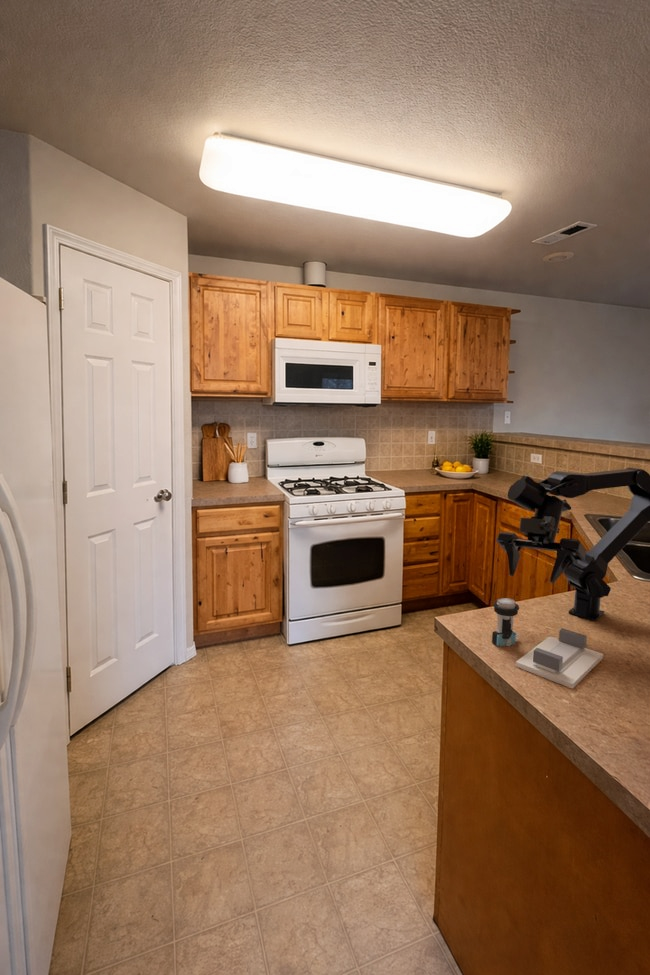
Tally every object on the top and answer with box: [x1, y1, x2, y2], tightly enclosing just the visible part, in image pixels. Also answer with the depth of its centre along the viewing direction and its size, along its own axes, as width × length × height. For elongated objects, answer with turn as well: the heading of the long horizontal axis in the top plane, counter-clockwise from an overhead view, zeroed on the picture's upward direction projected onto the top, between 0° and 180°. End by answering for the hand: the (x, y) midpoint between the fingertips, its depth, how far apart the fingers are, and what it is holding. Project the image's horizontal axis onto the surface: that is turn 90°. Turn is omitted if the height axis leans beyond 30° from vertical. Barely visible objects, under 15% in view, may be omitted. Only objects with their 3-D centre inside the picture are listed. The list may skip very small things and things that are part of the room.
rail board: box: [515, 628, 604, 690], centre depth 98 cm, size 16×11×4 cm
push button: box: [491, 597, 521, 648], centre depth 106 cm, size 7×5×10 cm
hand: (530, 579), depth 109 cm, fingers open, 9 cm apart
